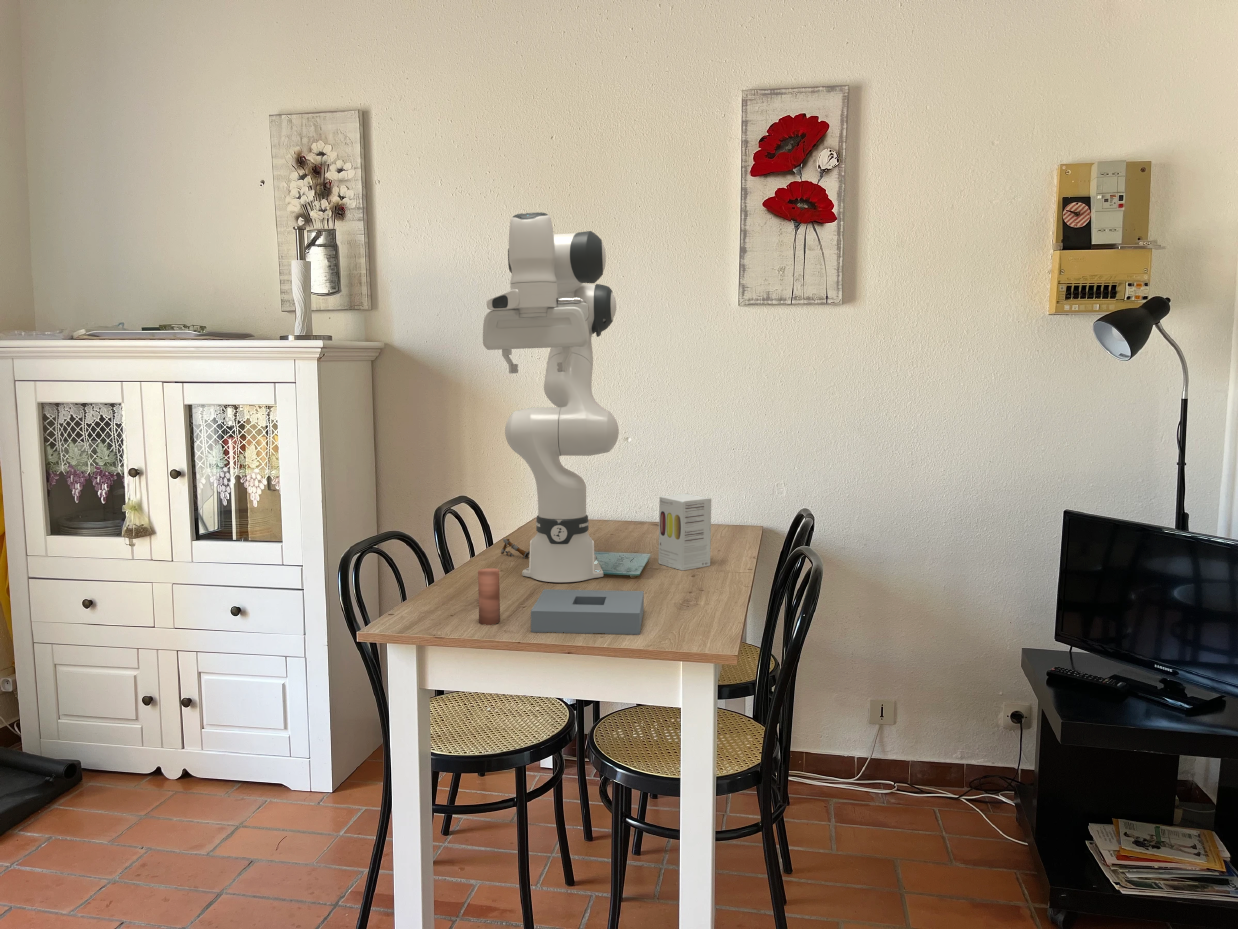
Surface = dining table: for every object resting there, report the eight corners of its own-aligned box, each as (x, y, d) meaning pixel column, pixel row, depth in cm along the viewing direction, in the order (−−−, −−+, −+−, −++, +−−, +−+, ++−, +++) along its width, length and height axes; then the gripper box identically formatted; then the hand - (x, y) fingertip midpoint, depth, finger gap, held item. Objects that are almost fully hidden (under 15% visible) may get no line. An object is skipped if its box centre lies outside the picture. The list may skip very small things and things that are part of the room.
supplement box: (657, 564, 226) (657, 496, 224) (685, 559, 231) (686, 492, 230) (682, 571, 218) (683, 500, 216) (711, 566, 224) (712, 497, 222)
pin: (481, 618, 178) (480, 568, 177) (501, 619, 178) (501, 568, 177) (476, 624, 174) (475, 572, 173) (497, 625, 174) (496, 573, 173)
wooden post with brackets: (500, 550, 237) (506, 535, 236) (524, 566, 234) (530, 551, 233) (496, 552, 236) (502, 537, 234) (520, 567, 233) (526, 552, 231)
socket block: (544, 608, 185) (544, 589, 185) (643, 610, 184) (643, 591, 183) (530, 632, 169) (530, 611, 169) (639, 634, 168) (639, 613, 168)
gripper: (591, 297, 177) (593, 370, 178) (486, 302, 179) (490, 373, 181) (586, 296, 170) (589, 371, 172) (478, 300, 173) (482, 374, 175)
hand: (537, 372), depth 176 cm, fingers open, 8 cm apart
